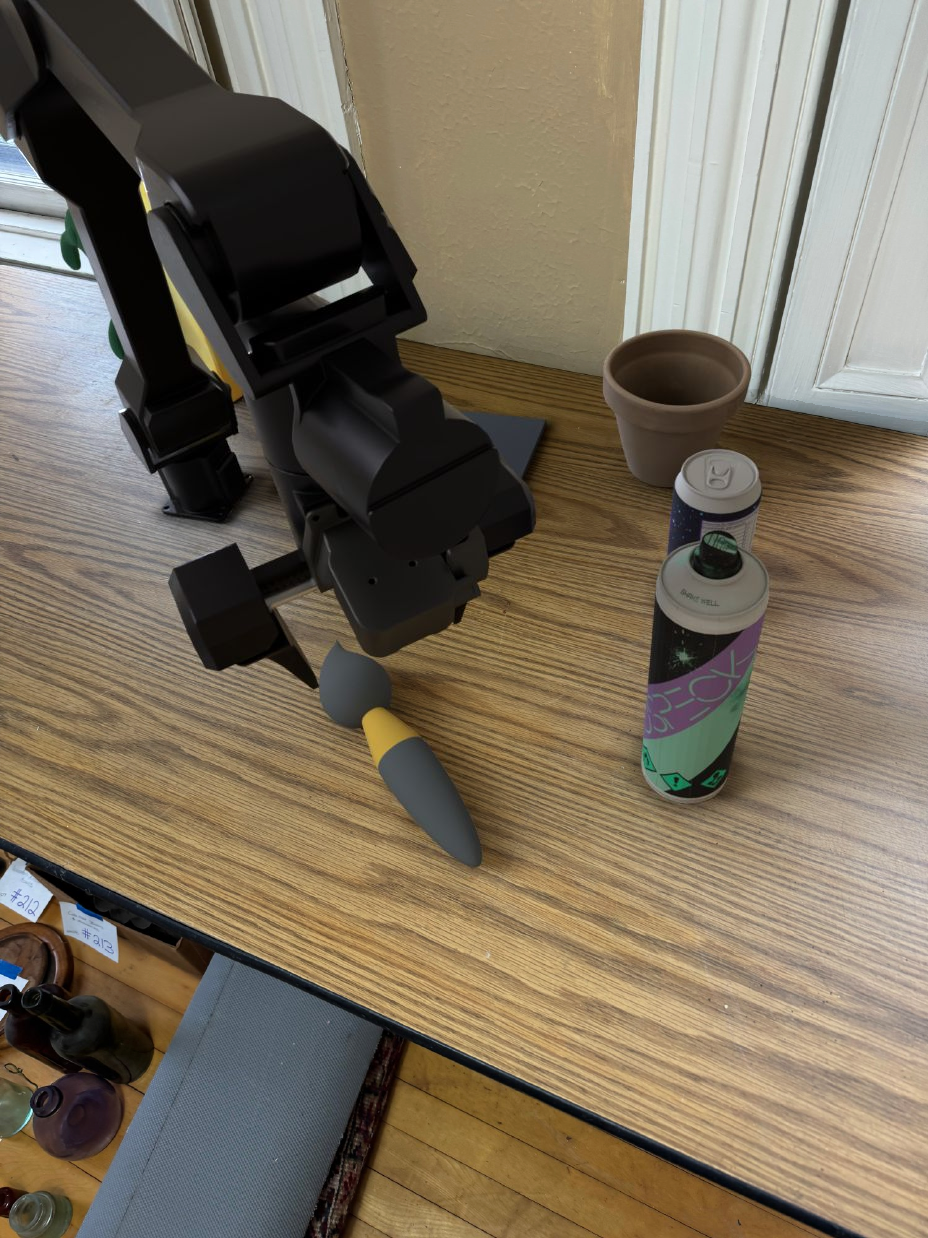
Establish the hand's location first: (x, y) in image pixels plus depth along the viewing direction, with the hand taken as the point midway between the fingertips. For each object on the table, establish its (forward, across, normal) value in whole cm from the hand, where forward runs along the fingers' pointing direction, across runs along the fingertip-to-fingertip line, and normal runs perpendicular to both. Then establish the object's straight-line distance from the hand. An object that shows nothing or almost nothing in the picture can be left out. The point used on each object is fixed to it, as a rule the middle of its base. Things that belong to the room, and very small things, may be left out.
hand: (385, 650), depth 51 cm
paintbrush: (+10, -1, -1) cm, 11 cm away
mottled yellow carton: (+10, -1, +57) cm, 58 cm away
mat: (+10, +13, +29) cm, 34 cm away
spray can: (+11, +15, -11) cm, 21 cm away
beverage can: (+10, +25, +1) cm, 27 cm away
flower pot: (+10, +32, +15) cm, 36 cm away
